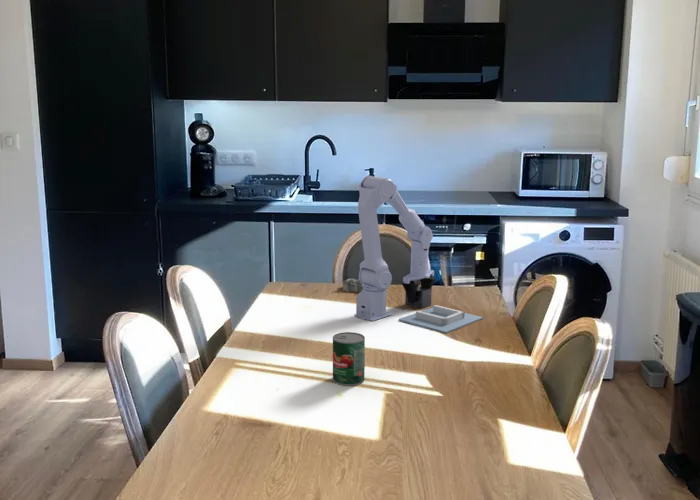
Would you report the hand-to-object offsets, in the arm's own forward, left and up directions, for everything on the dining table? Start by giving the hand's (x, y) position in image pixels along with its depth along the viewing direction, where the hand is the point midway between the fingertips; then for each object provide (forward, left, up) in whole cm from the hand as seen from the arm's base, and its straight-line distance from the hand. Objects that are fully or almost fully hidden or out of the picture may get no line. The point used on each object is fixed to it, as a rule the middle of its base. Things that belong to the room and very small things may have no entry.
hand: (418, 300), depth 242 cm
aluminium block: (0, 0, -2) cm, 2 cm away
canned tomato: (-64, -27, -2) cm, 69 cm away
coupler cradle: (-8, -14, -2) cm, 16 cm away
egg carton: (+1, +28, -2) cm, 28 cm away
